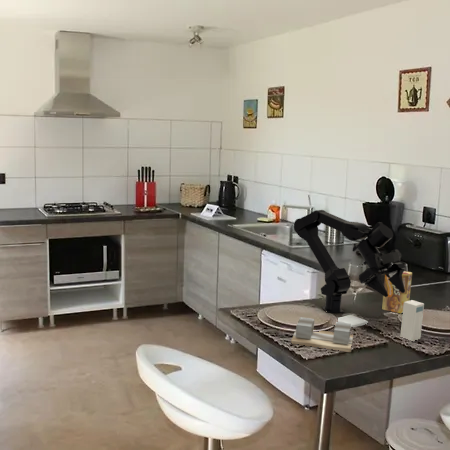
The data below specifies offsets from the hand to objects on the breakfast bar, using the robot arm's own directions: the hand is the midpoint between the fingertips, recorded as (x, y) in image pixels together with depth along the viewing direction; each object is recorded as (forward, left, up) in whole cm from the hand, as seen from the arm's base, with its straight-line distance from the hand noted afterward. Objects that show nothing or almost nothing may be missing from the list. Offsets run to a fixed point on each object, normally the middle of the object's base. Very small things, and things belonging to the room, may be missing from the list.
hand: (395, 294), depth 194 cm
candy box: (-22, +11, -13) cm, 28 cm away
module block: (+6, +3, -13) cm, 15 cm away
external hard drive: (-9, -12, -14) cm, 20 cm away
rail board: (+7, -27, -13) cm, 30 cm away
